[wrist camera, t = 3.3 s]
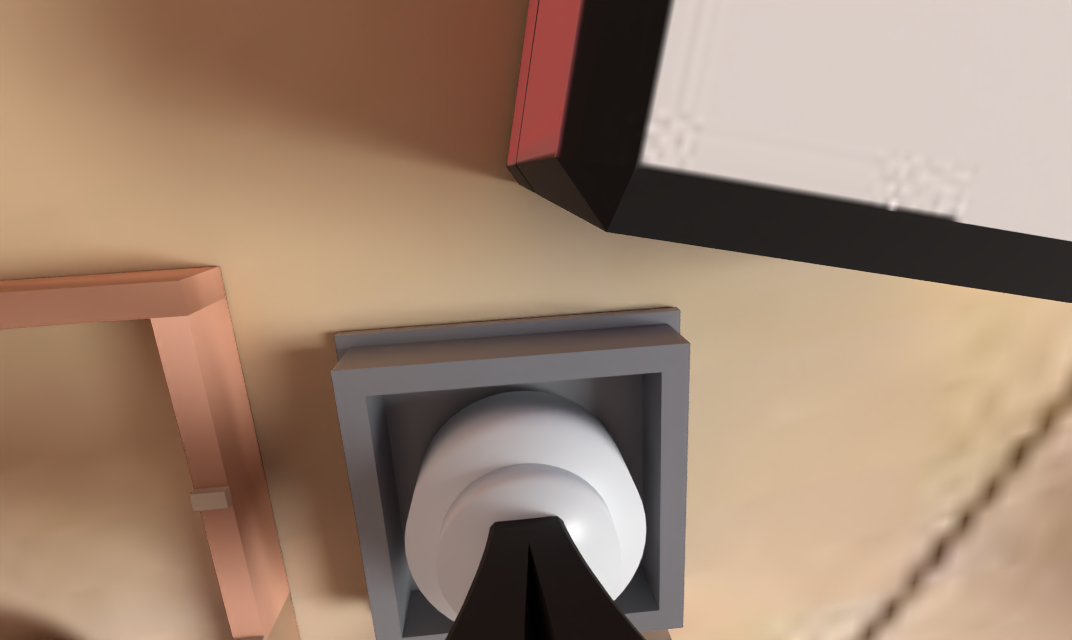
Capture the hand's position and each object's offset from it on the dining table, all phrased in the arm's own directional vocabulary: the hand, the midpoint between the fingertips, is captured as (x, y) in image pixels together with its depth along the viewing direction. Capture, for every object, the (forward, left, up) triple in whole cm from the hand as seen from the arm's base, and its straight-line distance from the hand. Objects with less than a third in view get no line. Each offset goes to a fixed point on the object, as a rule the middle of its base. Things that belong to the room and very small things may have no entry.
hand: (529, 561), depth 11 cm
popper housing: (0, 0, -3) cm, 3 cm away
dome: (0, 0, -3) cm, 3 cm away
